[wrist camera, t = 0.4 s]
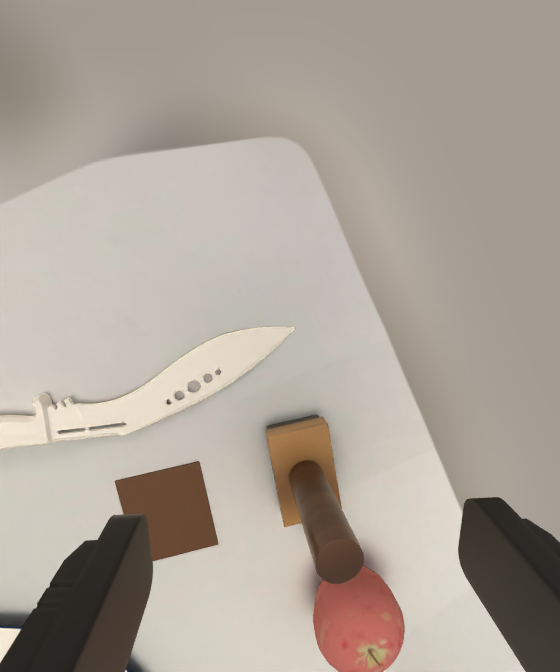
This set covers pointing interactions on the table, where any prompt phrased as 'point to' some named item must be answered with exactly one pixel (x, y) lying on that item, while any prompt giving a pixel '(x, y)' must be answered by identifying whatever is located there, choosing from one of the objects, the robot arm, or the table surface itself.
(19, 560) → the table surface
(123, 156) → the table surface
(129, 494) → the brown flat block
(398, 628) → the apple
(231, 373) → the knife
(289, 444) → the wooden handled stamp
